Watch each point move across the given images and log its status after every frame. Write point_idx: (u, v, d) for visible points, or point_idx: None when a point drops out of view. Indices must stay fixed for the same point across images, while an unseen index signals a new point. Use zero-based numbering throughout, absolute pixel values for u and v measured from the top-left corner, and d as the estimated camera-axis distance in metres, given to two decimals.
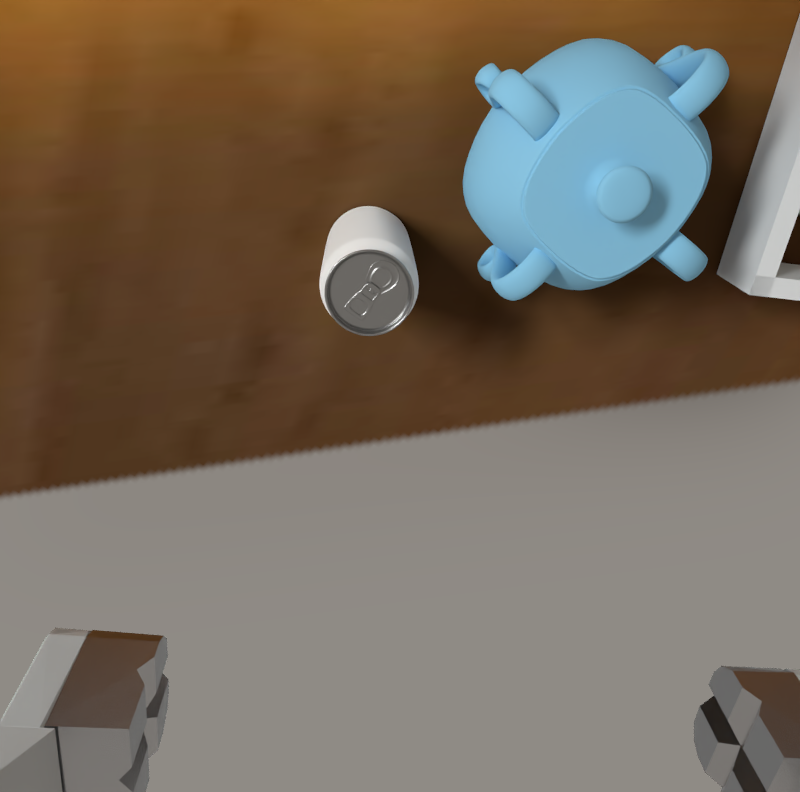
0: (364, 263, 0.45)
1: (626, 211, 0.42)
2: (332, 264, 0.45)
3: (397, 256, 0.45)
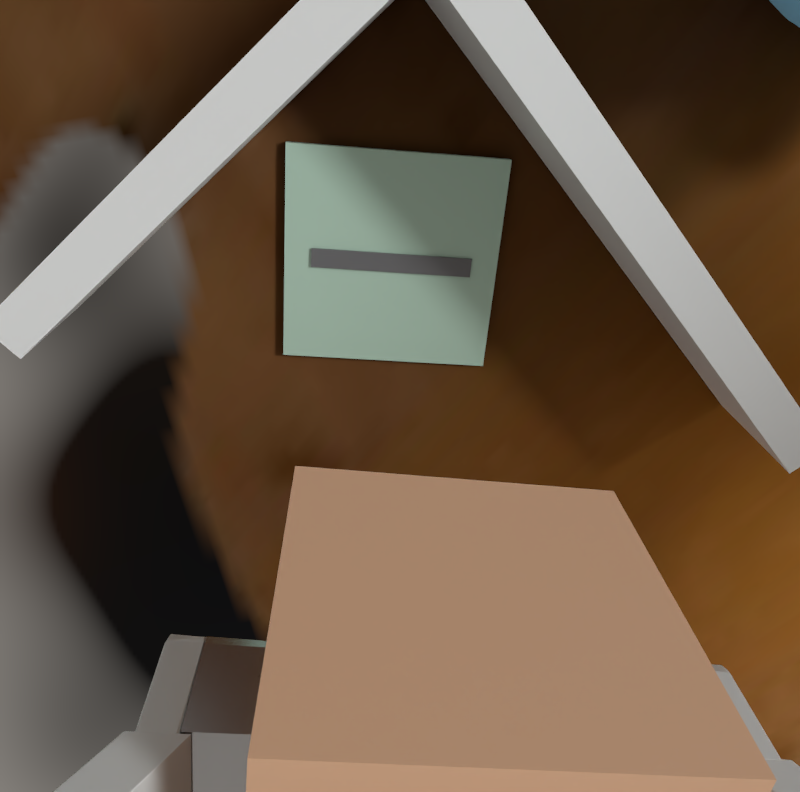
0: None
1: None
2: None
3: None
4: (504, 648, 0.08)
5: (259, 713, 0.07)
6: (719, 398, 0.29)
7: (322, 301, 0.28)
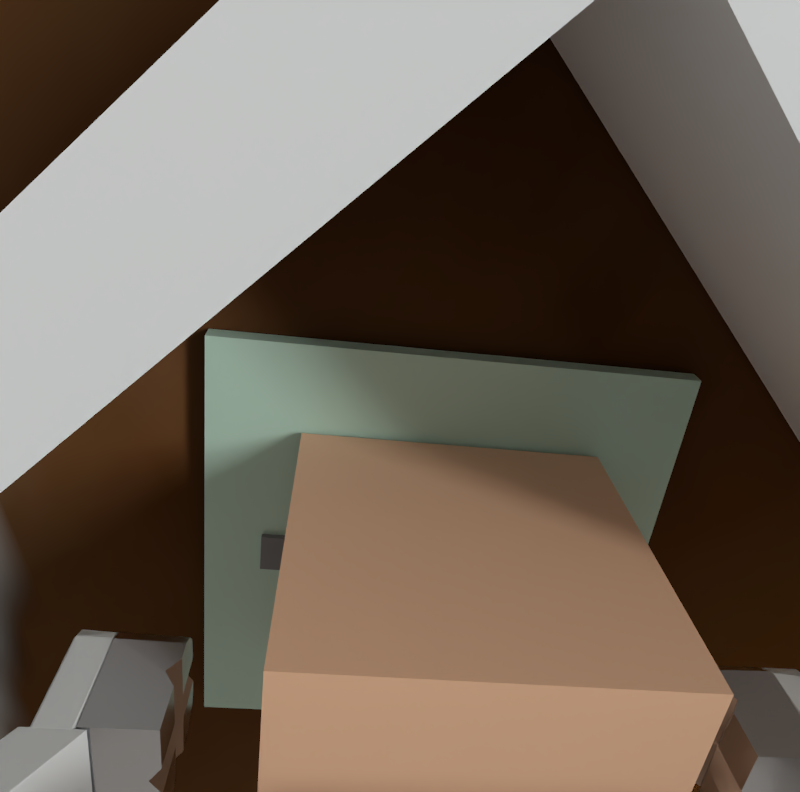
0: None
1: None
2: None
3: None
4: (494, 585, 0.09)
5: (273, 636, 0.08)
6: None
7: None
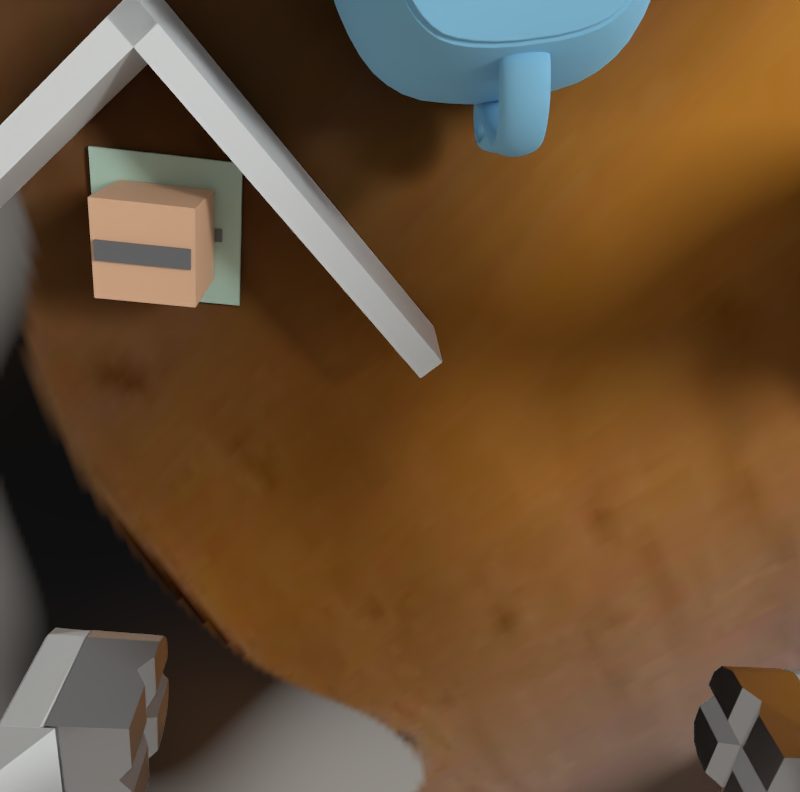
0: None
1: None
2: None
3: None
4: (152, 196, 0.36)
5: (92, 195, 0.35)
6: None
7: None
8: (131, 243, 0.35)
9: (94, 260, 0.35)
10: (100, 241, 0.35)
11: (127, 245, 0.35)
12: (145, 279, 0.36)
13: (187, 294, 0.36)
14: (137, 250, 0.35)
